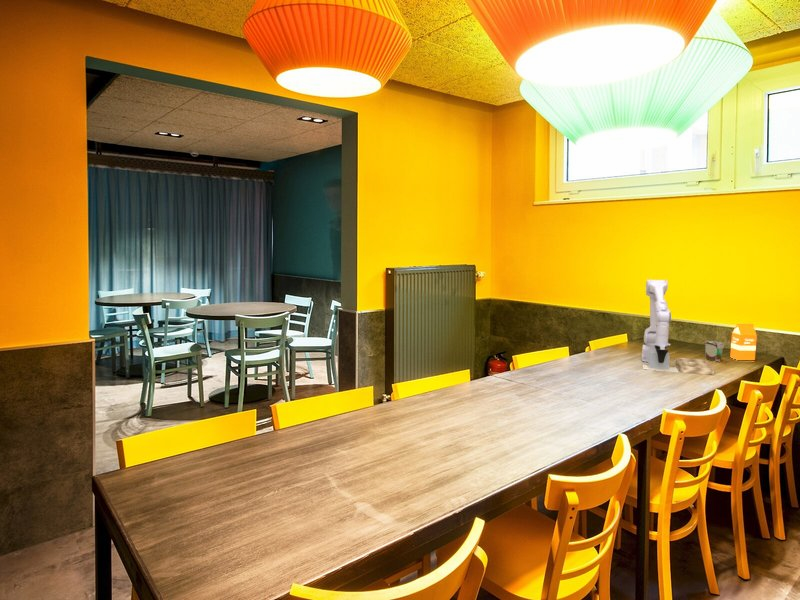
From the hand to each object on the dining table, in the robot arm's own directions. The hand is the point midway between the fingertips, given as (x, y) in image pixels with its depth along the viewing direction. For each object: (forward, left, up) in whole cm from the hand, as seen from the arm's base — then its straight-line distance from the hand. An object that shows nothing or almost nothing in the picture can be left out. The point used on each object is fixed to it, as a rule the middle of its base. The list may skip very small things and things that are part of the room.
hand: (660, 361), depth 265 cm
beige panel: (0, 0, -4) cm, 4 cm away
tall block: (-1, 0, -4) cm, 4 cm away
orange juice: (+44, +43, -4) cm, 62 cm away
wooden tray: (+16, +7, -4) cm, 18 cm away
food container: (+30, +34, -4) cm, 46 cm away
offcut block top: (+16, 0, -2) cm, 16 cm away
